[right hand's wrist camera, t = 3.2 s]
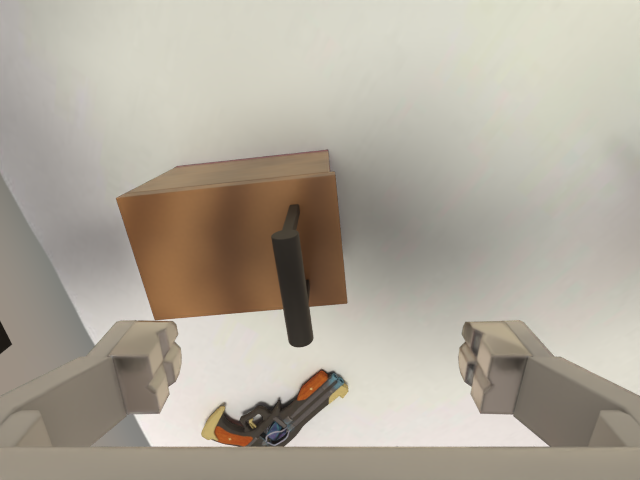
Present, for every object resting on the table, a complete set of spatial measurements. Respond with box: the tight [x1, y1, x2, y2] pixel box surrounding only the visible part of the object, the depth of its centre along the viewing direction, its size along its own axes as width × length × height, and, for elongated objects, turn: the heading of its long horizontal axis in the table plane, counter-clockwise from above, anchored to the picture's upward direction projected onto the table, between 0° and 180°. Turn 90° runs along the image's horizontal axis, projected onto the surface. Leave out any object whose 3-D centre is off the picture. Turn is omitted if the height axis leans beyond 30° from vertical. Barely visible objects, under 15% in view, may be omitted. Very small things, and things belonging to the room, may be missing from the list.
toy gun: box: [201, 371, 348, 447], centre depth 49 cm, size 3×19×10 cm
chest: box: [125, 150, 330, 194], centre depth 35 cm, size 15×10×11 cm
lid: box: [116, 172, 347, 347], centre depth 26 cm, size 16×10×8 cm, turn 96°
